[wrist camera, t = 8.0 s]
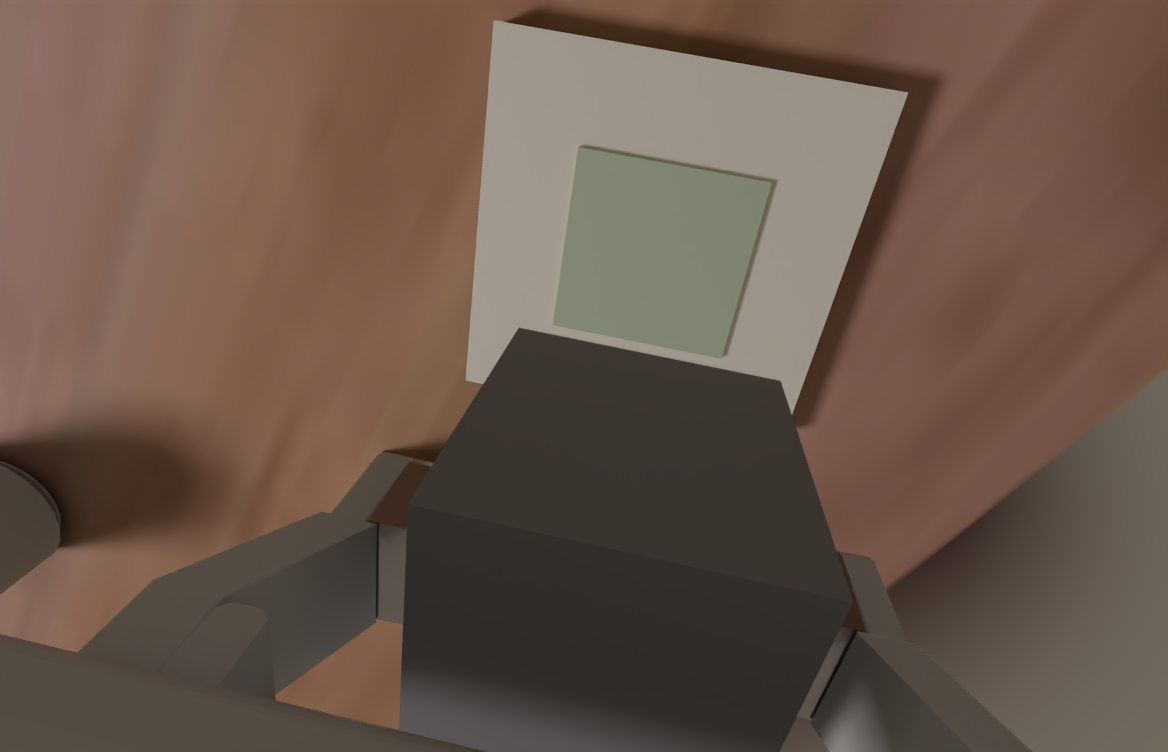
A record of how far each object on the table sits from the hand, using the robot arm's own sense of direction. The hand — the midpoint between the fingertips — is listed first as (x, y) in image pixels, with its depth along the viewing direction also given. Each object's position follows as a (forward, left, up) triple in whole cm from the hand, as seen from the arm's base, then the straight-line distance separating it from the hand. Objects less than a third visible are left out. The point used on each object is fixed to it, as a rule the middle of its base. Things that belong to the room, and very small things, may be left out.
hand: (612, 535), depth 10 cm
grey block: (0, 0, -2) cm, 2 cm away
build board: (0, 0, -17) cm, 17 cm away
